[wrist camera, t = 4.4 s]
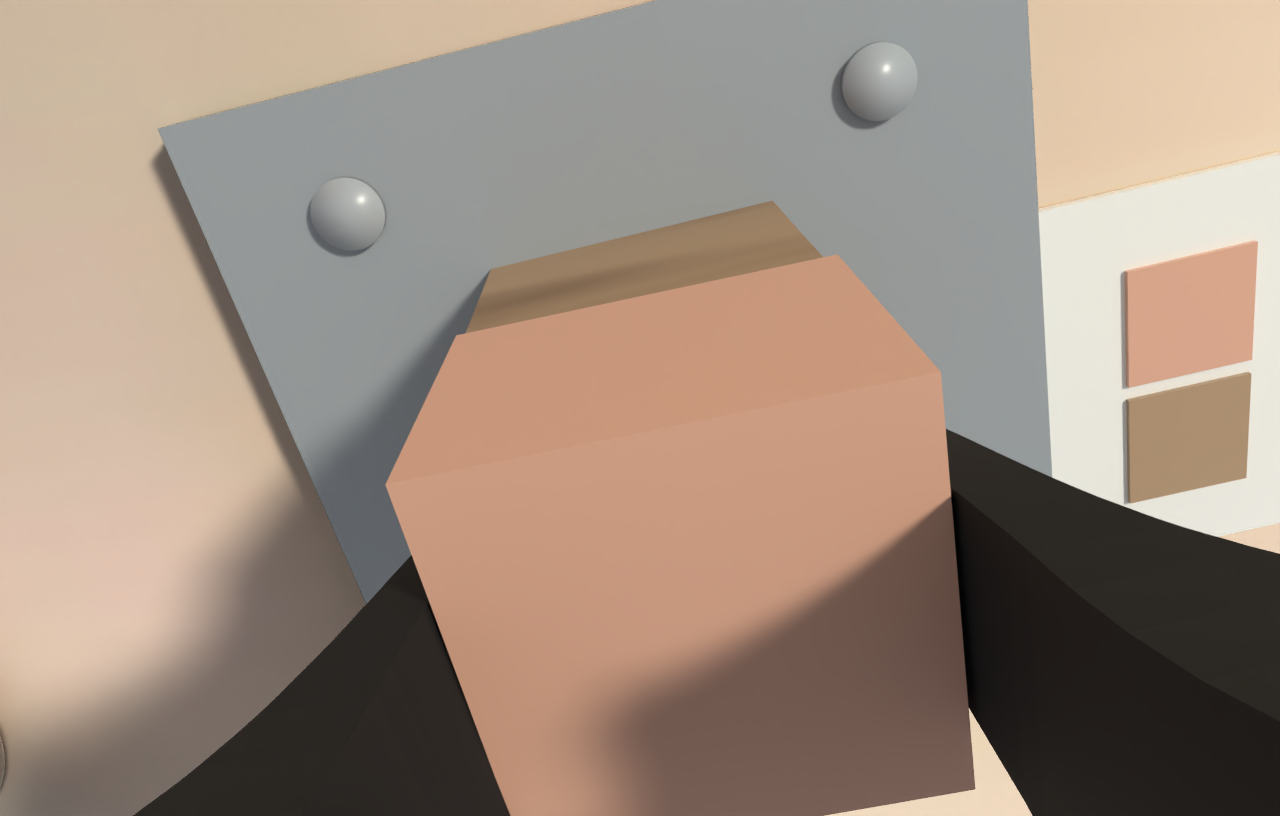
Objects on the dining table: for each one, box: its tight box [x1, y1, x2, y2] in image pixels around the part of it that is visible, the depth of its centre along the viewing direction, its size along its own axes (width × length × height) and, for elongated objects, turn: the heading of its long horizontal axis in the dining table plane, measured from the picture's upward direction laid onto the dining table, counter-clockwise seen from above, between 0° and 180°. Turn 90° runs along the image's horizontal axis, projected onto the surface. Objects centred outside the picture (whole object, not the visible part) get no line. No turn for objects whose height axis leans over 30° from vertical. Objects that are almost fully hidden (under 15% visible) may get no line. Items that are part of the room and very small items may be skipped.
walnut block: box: [466, 201, 823, 333], centre depth 15 cm, size 5×5×4 cm
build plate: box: [158, 0, 1052, 604], centre depth 17 cm, size 14×14×1 cm
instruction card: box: [1038, 151, 1280, 537], centre depth 18 cm, size 8×6×1 cm
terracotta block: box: [385, 254, 975, 816], centre depth 11 cm, size 5×5×4 cm
